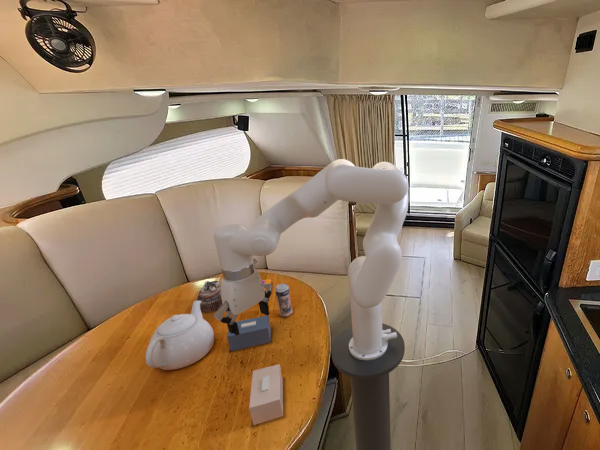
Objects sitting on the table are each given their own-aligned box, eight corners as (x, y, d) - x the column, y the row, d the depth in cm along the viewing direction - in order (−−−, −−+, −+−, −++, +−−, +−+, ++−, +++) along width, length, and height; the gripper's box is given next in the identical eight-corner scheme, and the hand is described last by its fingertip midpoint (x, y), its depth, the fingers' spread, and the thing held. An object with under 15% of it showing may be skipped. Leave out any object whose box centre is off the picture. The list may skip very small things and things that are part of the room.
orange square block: (249, 296, 129) (247, 287, 127) (251, 286, 136) (249, 278, 135) (270, 292, 131) (268, 284, 130) (271, 283, 138) (269, 274, 137)
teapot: (144, 352, 100) (130, 317, 95) (208, 325, 112) (198, 293, 107) (155, 387, 88) (140, 349, 83) (225, 352, 100) (216, 317, 95)
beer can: (282, 319, 115) (277, 291, 111) (277, 312, 119) (272, 285, 114) (294, 313, 118) (290, 286, 114) (290, 307, 122) (285, 281, 117)
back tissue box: (230, 351, 100) (226, 335, 98) (233, 337, 107) (229, 321, 104) (270, 342, 104) (267, 326, 102) (271, 329, 110) (268, 313, 108)
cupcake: (203, 300, 126) (197, 279, 123) (229, 297, 129) (224, 276, 125) (195, 315, 118) (189, 292, 114) (224, 310, 120) (218, 288, 116)
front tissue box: (256, 386, 88) (252, 369, 85) (282, 379, 90) (279, 362, 88) (253, 425, 77) (248, 406, 75) (283, 416, 79) (279, 397, 77)
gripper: (257, 254, 91) (267, 303, 97) (197, 282, 77) (213, 337, 83) (275, 260, 88) (284, 310, 94) (215, 290, 74) (230, 347, 80)
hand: (250, 323), depth 89 cm, fingers open, 9 cm apart
